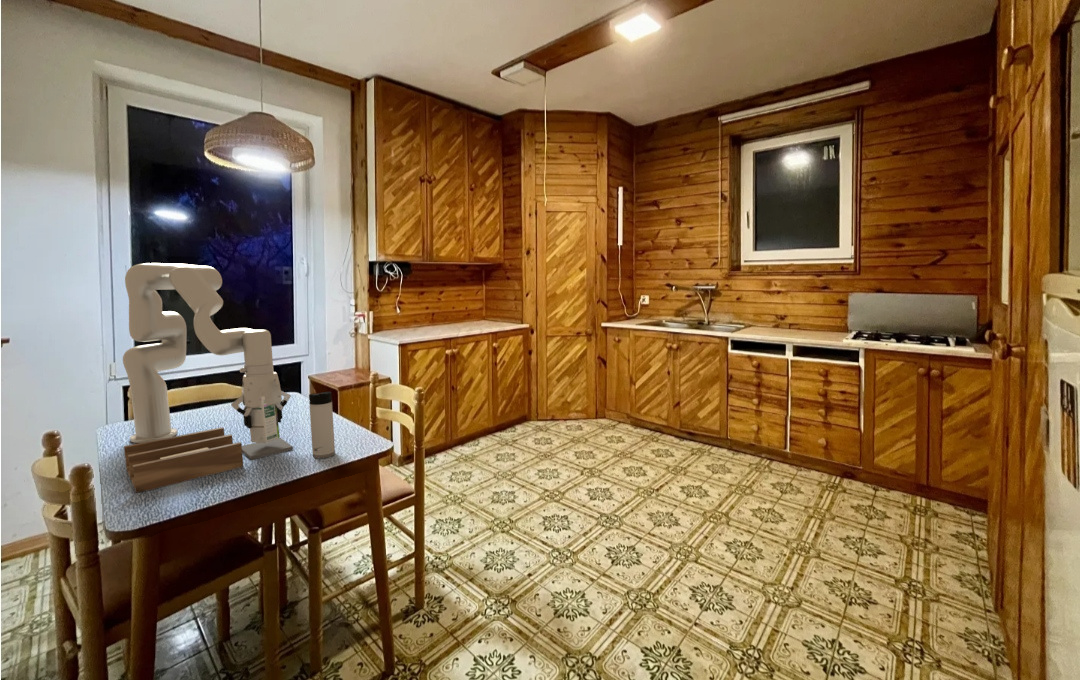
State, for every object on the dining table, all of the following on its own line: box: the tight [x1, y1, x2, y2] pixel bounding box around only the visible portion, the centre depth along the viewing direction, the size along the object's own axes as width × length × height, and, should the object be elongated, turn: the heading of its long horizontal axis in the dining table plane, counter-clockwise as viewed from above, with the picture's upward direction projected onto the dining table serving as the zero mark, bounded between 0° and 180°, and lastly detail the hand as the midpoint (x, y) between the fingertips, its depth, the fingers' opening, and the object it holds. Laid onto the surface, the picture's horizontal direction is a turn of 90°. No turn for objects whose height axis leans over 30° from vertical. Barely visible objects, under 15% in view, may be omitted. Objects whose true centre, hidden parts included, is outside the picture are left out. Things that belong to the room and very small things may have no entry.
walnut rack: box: [123, 426, 244, 493], centre depth 139 cm, size 21×24×7 cm
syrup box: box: [249, 396, 281, 443], centre depth 153 cm, size 6×6×14 cm
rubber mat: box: [242, 437, 294, 460], centre depth 154 cm, size 12×12×1 cm
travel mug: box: [308, 391, 336, 460], centre depth 148 cm, size 6×7×20 cm
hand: (263, 424), depth 153 cm, fingers closed on syrup box, 7 cm apart
